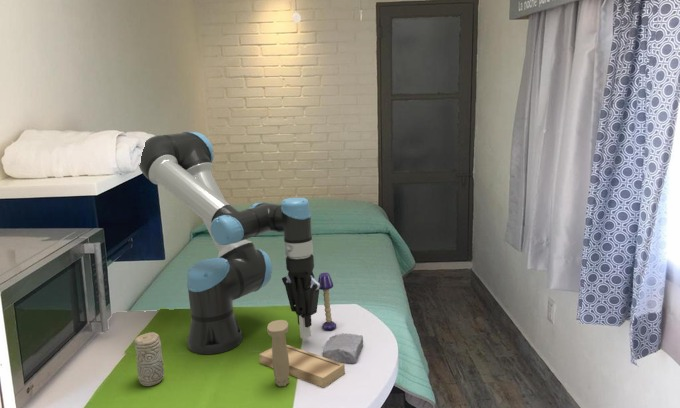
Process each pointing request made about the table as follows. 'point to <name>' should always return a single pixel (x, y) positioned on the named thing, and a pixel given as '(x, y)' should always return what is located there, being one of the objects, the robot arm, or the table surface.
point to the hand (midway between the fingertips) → (305, 336)
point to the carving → (149, 359)
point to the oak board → (308, 366)
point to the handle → (279, 351)
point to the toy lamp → (327, 300)
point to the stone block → (343, 348)
